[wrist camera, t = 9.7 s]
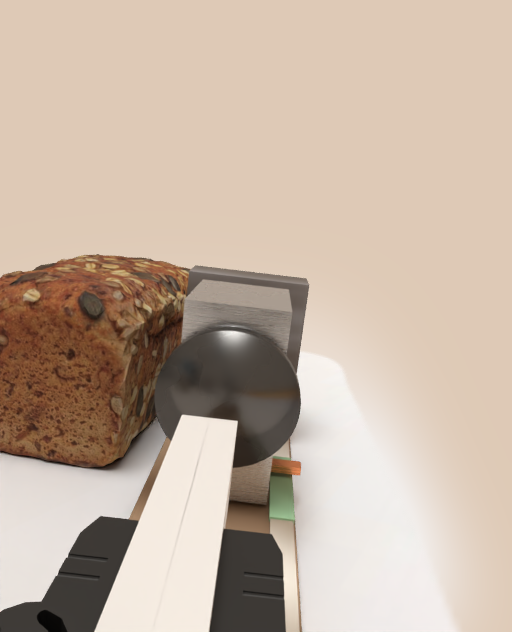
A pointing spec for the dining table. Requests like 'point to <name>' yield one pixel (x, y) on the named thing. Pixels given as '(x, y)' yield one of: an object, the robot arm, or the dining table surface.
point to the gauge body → (280, 492)
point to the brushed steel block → (236, 377)
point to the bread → (85, 354)
